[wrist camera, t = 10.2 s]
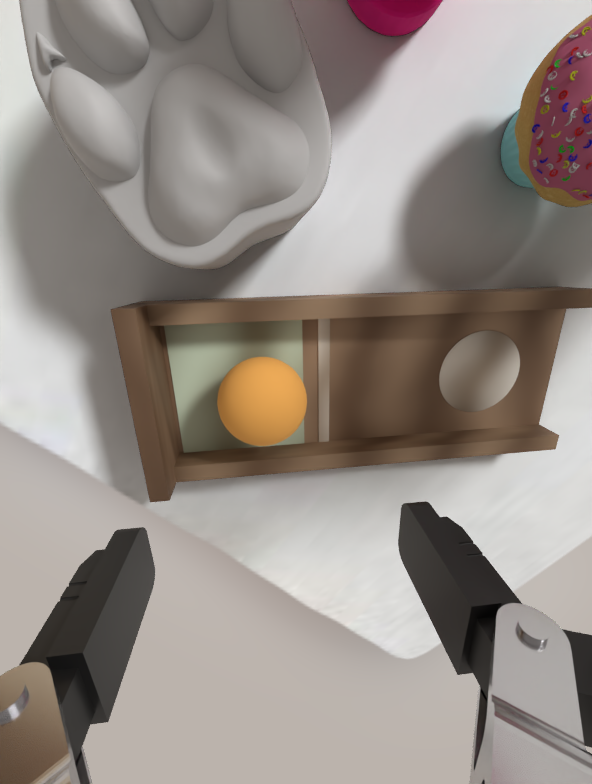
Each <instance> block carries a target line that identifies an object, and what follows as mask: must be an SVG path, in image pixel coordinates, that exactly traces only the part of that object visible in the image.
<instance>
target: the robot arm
mask: <svg viewBox="0 0 592 784" xmlns="http://www.w3.org/2000/svg"><path fill="white" fill-rule="evenodd" d="M398 545H399V552H400V556H401V559H402V562H403V564H404V566H405V568H406V570H407V572H408V574H409V576H410V578H411V580H412V582H413V584H414V586H415V588H416V591H417V593H418V595H419V597H420V599H421V601H422V603H423V605H424V607H425V609H426V611H427V613H428V615H429V617H430V619H431V621H432V623H433V625H434V627H435V629H436V631H437V633H438V635H439V638H440V640H441V642H442V644H443V646H444V648H445V650H446V652H447V654H448V656H449V658H450V660H451V662H452V664H453V666H454V668H455V670H456V672H457V674H458V675H460V674H467V673H473V674H474V675H475V677H476V679H477V681H478V683H479V685H480V686H479V692H478V700H477V710H476V721H475V732H474V742H473V754H472V764H471V775H470V783H469V784H592V754H591V753H589V752H587V751H586V748H585V746H589V747H592V635H588V634H582V633H576V632H572V631H567V630H563V629H561V628H560V626H559V625H558V624H556V622H554V621H553V620H552V619H551V618H550V617H548V616H547V615H546V614H544V613H543V612H540V611H539V610H537V609H535V608H533V607H530V606H527V605H524V604H522V603H521V602H520V601H519V599H518V598H517V597H516V596H515V594H514V593H513V592H512V590H511V589H510V588H509V587H508V585H507V584H506V583H505V581H504V580H503V579H502V578H501V576H500V575H499V574H498V573H497V571H496V570H495V569H494V567H493V566H492V565H491V564H490V562H489V561H488V560H487V559H486V557H485V556H483V555H482V552H481V551H480V550H479V548H478V547H477V546H476V545H475V544H473V541H472V539H471V538H470V537H469V536H468V534H467V533H466V532H465V531H464V529H463V528H462V527H461V526H459V525H458V524H456V523H455V522H454V521H452V520H451V519H449V518H448V517H439V516H438V514H437V513H436V512H435V510H434V509H433V508H432V506H431V505H430V504H429V503H428V502H416V503H405V504H403V505H402V508H401V518H400V529H399V539H398ZM154 577H155V567H154V562H153V557H152V553H151V548H150V544H149V540H148V535H147V531H146V530H145V528H143V527H142V528H131V529H121V530H117V531H115V533H114V534H113V536H112V538H111V539H110V541H109V543H108V545H107V547H106V549H105V550H97V551H95V552H94V553H93V554H92V555H91V556H90V557H89V558H88V559H87V560H85V561H84V563H82V564H81V565H80V566H79V568H78V570H77V571H76V573H75V575H74V576H73V578H72V580H71V581H70V583H69V587H67V588H66V590H65V591H64V593H63V594H62V596H61V599H60V602H58V603H57V604H56V606H55V608H54V609H53V611H52V613H51V614H50V616H49V618H48V619H47V621H46V622H45V624H44V626H43V627H42V629H41V631H40V632H39V634H38V636H37V637H36V639H35V641H34V642H33V644H32V645H31V647H30V649H29V651H28V652H27V654H26V655H25V657H24V659H23V660H22V662H21V664H20V665H19V666H17V667H15V668H13V669H11V670H9V671H7V672H6V673H4V674H3V675H1V676H0V784H92V780H91V776H90V773H89V769H88V765H87V761H86V757H85V753H84V750H83V747H82V745H83V742H84V740H85V737H86V734H87V731H88V729H89V726H90V724H97V723H104V722H108V721H109V717H110V715H111V712H112V708H113V705H114V703H115V699H116V697H117V694H118V691H119V687H120V684H121V681H122V679H123V676H124V673H125V670H126V667H127V664H128V661H129V658H130V655H131V652H132V649H133V645H134V643H135V640H136V637H137V634H138V631H139V628H140V625H141V621H142V619H143V616H144V612H145V610H146V607H147V604H148V601H149V598H150V595H151V592H152V589H153V585H154V579H155V578H154Z"/></svg>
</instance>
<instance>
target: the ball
mask: <svg viewBox="0 0 592 784" xmlns="http://www.w3.org/2000/svg"><path fill="white" fill-rule="evenodd" d="M217 406H218V412H219V415H220V418H221V420H222V422H223V424H224V426H225V427H226V428H227V430H228V431H229V432H230V433H231V434H232V435H233V436H234V437H236V438H237V439H239V440H241V441H243V442H245V443H247V444H251V445H255V446H269V445H273V444H277V443H279V442H282V441H283V440H285V439H287V438H288V437H290V436H291V435H292V434H293V433H294V432H295V431H296V430H297V429H298V427H299V426H300V424H301V423H302V421H303V419H304V416H305V413H306V408H307V395H306V390H305V387H304V384H303V382H302V380H301V378H300V377H299V375H298V374H297V373H296V371H295V370H294V369H293V368H292V367H290V366H289V365H288V364H286V363H284V362H282V361H280V360H278V359H275V358H271V357H254V358H250V359H247V360H244V361H242V362H240V363H239V364H237V365H236V366H234V367H233V368H232V369H231V370H230V371H229V372H228V373H227V374H226V376H225V377H224V379H223V381H222V383H221V385H220V388H219V391H218V399H217Z"/></svg>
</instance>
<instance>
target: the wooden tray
mask: <svg viewBox="0 0 592 784" xmlns="http://www.w3.org/2000/svg"><path fill="white" fill-rule="evenodd" d="M569 308H592V289H590V288H570V287H543V288H514V289H486V290H457V291H428V292H400V293H371V294H342V295H313V296H285V297H256V298H227V299H199V300H170V301H141V302H137V303H133V304H130V305H126V306H122V307H118V308H115V309H111V314H112V319H113V323H114V328H115V333H116V338H117V343H118V348H119V353H120V358H121V362H122V367H123V372H124V377H125V382H126V387H127V392H128V397H129V401H130V406H131V411H132V416H133V421H134V426H135V431H136V435H137V440H138V445H139V450H140V455H141V460H142V465H143V470H144V474H145V479H146V484H147V489H148V494H149V499H150V502H158V501H168V500H170V498H171V495H172V493H173V490H174V487H175V484H176V482H185V481H196V480H208V479H219V478H231V477H242V476H254V475H265V474H276V473H288V472H299V471H311V470H322V469H334V468H345V467H357V466H368V465H380V464H391V463H403V462H414V461H426V460H437V459H449V458H460V457H472V456H483V455H494V454H506V453H517V452H529V451H540V450H552V449H556V445H557V441H558V437H559V435H557V434H556V433H554V432H552V431H550V430H548V429H546V428H544V427H543V426H541V425H539V421H540V417H541V412H542V408H543V404H544V400H545V396H546V391H547V387H548V383H549V379H550V375H551V370H552V366H553V362H554V358H555V354H556V349H557V345H558V341H559V337H560V333H561V328H562V324H563V320H564V316H565V312H566V309H569ZM254 357H271V358H275V359H278V360H280V361H282V362H284V363H286V364H288V365H289V366H290V367H292V368H293V369H294V370H295V371H296V373H297V374H298V375H299V377H300V378H301V380H302V382H303V384H304V387H305V390H306V395H307V408H306V413H305V416H304V419H303V421H302V423H301V424H300V426H299V427H298V429H297V430H296V431H295V432H294V433H293V434H292V435H291V436H290V437H288V438H287V439H285V440H283V441H282V442H279V443H277V444H273V445H269V446H255V445H251V444H247V443H245V442H243V441H241V440H239V439H237V438H236V437H234V436H233V435H232V434H231V433H230V432H229V431H228V430H227V428H226V427H225V426H224V424H223V422H222V420H221V418H220V415H219V412H218V406H217V399H218V391H219V388H220V385H221V383H222V381H223V379H224V377H225V376H226V374H227V373H228V372H229V371H230V370H231V369H232V368H233V367H234V366H236V365H237V364H239V363H240V362H242V361H244V360H247V359H250V358H254Z"/></svg>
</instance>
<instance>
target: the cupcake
mask: <svg viewBox="0 0 592 784" xmlns="http://www.w3.org/2000/svg"><path fill="white" fill-rule="evenodd" d="M501 162H502V166H503V169H504V171H505V173H506V175H507V176H508V178H509V179H510V180H511V181H512V182H514V183H515V184H517V185H519V186H522V187H528V188H535V190H536V191H537V193H538V194H539V196H540V197H542V198H543V199H545V200H547V201H551V202H554V203H557V204H559V205H562V206H566V207H578V206H583V205H587V204H590V203H592V15H591V16H589V17H588V18H586V19H585V20H584V21H583V22H581V23H580V24H579V25H578V26H576V27H575V28H574V29H573V30H571V31H570V32H569V33H568V34H567V35H566V36H565V37H564V38H563V39H562V40H561V41H560V42H559V43H558V44H557V45H556V46H555V47H554V48H553V49H552V50H551V51H550V52H549V53H548V55H547V56H546V57H545V58H544V60H543V61H542V62H541V64H540V65H539V66H538V68H537V69H536V71H535V72H534V74H533V76H532V77H531V79H530V81H529V83H528V84H527V87H526V89H525V91H524V93H523V97H522V101H521V106H520V109H519V110H518V111H517V112H516V114H515V115H514V116H513V117H512V119H511V120H510V122H509V124H508V126H507V128H506V130H505V133H504V135H503V139H502V144H501Z"/></svg>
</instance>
